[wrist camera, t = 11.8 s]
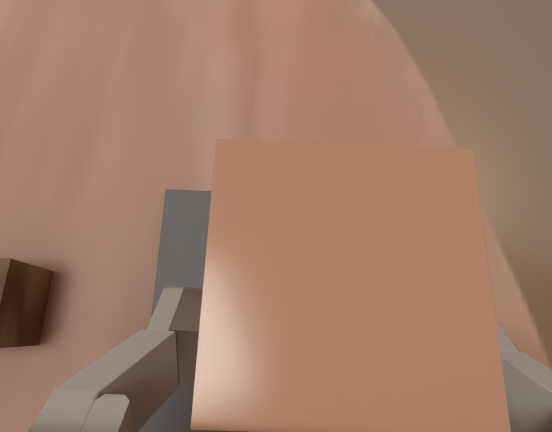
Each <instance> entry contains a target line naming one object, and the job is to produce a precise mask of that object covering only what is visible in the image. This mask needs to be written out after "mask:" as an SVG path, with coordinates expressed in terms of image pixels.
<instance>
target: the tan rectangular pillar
mask: <svg viewBox="0 0 552 432" xmlns="http://www.w3.org/2000/svg"><path fill="white" fill-rule="evenodd" d="M190 430H216V431H247V432H511V430H510V422H509V415H508V407H507V400H506V392H505V385H504V377H503V370H502V362H501V355H500V347H499V340H498V332H497V325H496V317H495V310H494V302H493V295H492V287H491V280H490V272H489V265H488V257H487V250H486V242H485V235H484V227H483V220H482V212H481V205H480V197H479V190H478V183H477V175H476V168H475V160H474V153H473V150H467V149H443V148H418V147H393V146H368V145H344V144H319V143H294V142H269V141H244V140H219V139H216V147H215V159H214V170H213V181H212V192H211V203H210V215H209V226H208V237H207V248H206V259H205V271H204V282H203V293H202V304H201V315H200V327H199V338H198V349H197V360H196V371H195V383H194V394H193V405H192V416H191V427H190Z"/></svg>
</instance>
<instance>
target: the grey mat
mask: <svg viewBox="0 0 552 432" xmlns="http://www.w3.org/2000/svg"><path fill="white" fill-rule="evenodd" d="M211 192H212V191H191V190H166V193H165V202H164V211H163V220H162V229H161V237H160V246H159V255H158V264H157V273H156V282H155V291H154V300H153V309H152V315H153V312H154V310H155V308H156V305H157V303H158V301H159V298H160V296H161V294H162V291H163V289H164V288H165V287H166V286H178V287H193V288H203V282H204V271H205V259H206V248H207V237H208V226H209V215H210V203H211ZM193 394H194V385H179V387H178V388H177V389H176V390H175V392H174V393H173V394H172V395H171V396H170V397H169V398H168V399H167V400H166V401H165V403H164V404H163V405H162V406H161V407H160V408H159V409H158V410H157V411H156V412H155V414H154V415H153V416H152V417H151V418H150V419H149V420H148V421H147V422H146V424H145V425H144V426H143V427H142V428H141V429H140V430H139V432H247V431H216V430H190V427H191V416H192V405H193Z"/></svg>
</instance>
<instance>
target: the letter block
mask: <svg viewBox="0 0 552 432" xmlns="http://www.w3.org/2000/svg"><path fill="white" fill-rule="evenodd" d="M52 272H53V271H50V270H47V269H43V268H40V267H36V266H33V265H30V264H26V263H23V262H20V261H16V260H13V259H1V258H0V348H5V347H20V346H34V345H38V344H39V339H40V334H41V329H42V324H43V318H44V313H45V308H46V303H47V298H48V292H49V287H50V282H51V277H52Z"/></svg>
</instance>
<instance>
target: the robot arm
mask: <svg viewBox="0 0 552 432" xmlns="http://www.w3.org/2000/svg"><path fill="white" fill-rule="evenodd" d="M202 293H203V288H193V287H178V286H166V287H165V288H164V289H163V291H162V294H161V296H160V298H159V301H158V303H157V305H156V308H155V310H154V312H153V315H152V317H151V320H150V322H149V324H148V327H147V329H140V330H138V331H137V332H136V333H134V334H133V335H131V336H130V337H128V338H127V339H125V340H124V341H123V342H121V343H120V344H118V345H117V346H115V347H114V348H112V349H111V350H110V351H108V352H107V353H105V354H104V355H102V356H101V357H100V358H98V359H97V360H95V361H94V362H92V363H91V364H89V365H88V366H87V367H85V368H84V369H82V370H81V371H79V372H78V373H76V374H75V375H74V376H72V377H71V378H69V379H68V380H66V381H65V382H63V383H62V384H61V385H59V386H58V387H56V388H55V389H54V390H53V391H52V393H51V395H50V396H49V398H48V400H47V401H46V403H45V405H44V406H43V408H42V410H41V411H40V413H39V414H38V416H37V418H36V419H35V421H34V423H33V424H32V426H31V428H30V429H29V431H28V432H138V431H139V430H140V429H141V428H142V427H143V426H144V425H145V424H146V422H147V421H148V420H149V419H150V418H151V417H152V416H153V415H154V414H155V412H156V411H157V410H158V409H159V408H160V407H161V406H162V405H163V404H164V403H165V401H166V400H167V399H168V398H169V397H170V396H171V395H172V394H173V393H174V392H175V390H176V389H177V388H178V387H179V385H194V383H195V371H196V360H197V349H198V338H199V327H200V315H201V304H202ZM496 325H497V332H498V340H499V347H500V355H501V362H502V370H503V377H504V385H505V392H506V400H507V407H508V415H509V422H510V430H511V432H552V370H551V369H550V368H548V367H547V366H545V365H544V364H542V363H541V362H539V361H537V360H536V359H534V358H533V357H531V356H530V355H528V354H527V353H525V352H519V351H517V349H516V348H515V346H514V345H513V344H512V342H511V341H510V340H509V338H508V337H507V335H506V334H505V333H504V331H503V330H502V329H501V327H500V326H499V324H498V323H497V322H496Z"/></svg>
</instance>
